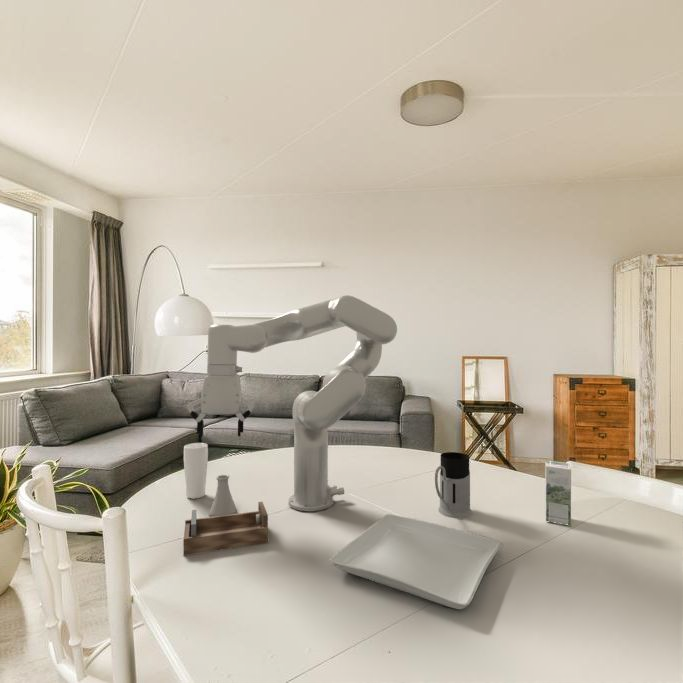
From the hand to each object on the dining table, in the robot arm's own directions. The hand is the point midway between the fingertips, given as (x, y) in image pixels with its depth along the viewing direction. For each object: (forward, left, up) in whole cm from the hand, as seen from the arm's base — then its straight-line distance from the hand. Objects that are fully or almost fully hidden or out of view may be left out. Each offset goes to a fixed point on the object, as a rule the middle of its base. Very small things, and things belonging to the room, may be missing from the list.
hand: (220, 435), depth 112 cm
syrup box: (-82, +31, -21) cm, 90 cm away
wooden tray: (-1, +15, -21) cm, 26 cm away
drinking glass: (+6, -16, -21) cm, 27 cm away
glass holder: (-58, +19, -21) cm, 64 cm away
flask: (-1, 0, -21) cm, 21 cm away
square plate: (-38, +39, -21) cm, 58 cm away
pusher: (+6, +15, -19) cm, 25 cm away
